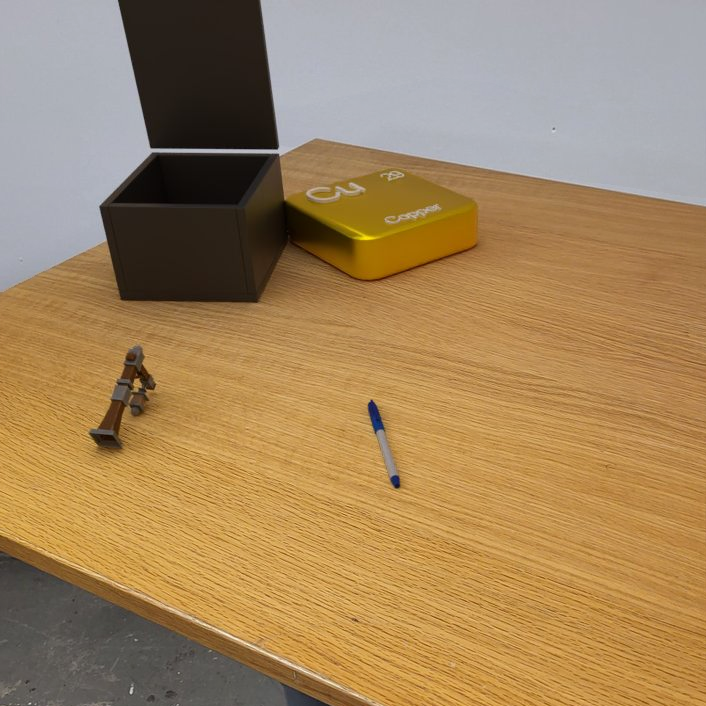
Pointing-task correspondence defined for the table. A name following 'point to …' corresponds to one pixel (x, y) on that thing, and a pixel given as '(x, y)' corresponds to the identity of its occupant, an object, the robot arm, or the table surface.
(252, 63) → the box lid
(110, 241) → the open black box
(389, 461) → the ballpoint pen
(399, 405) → the table surface
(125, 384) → the brown grey angular piece
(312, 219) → the element tile
